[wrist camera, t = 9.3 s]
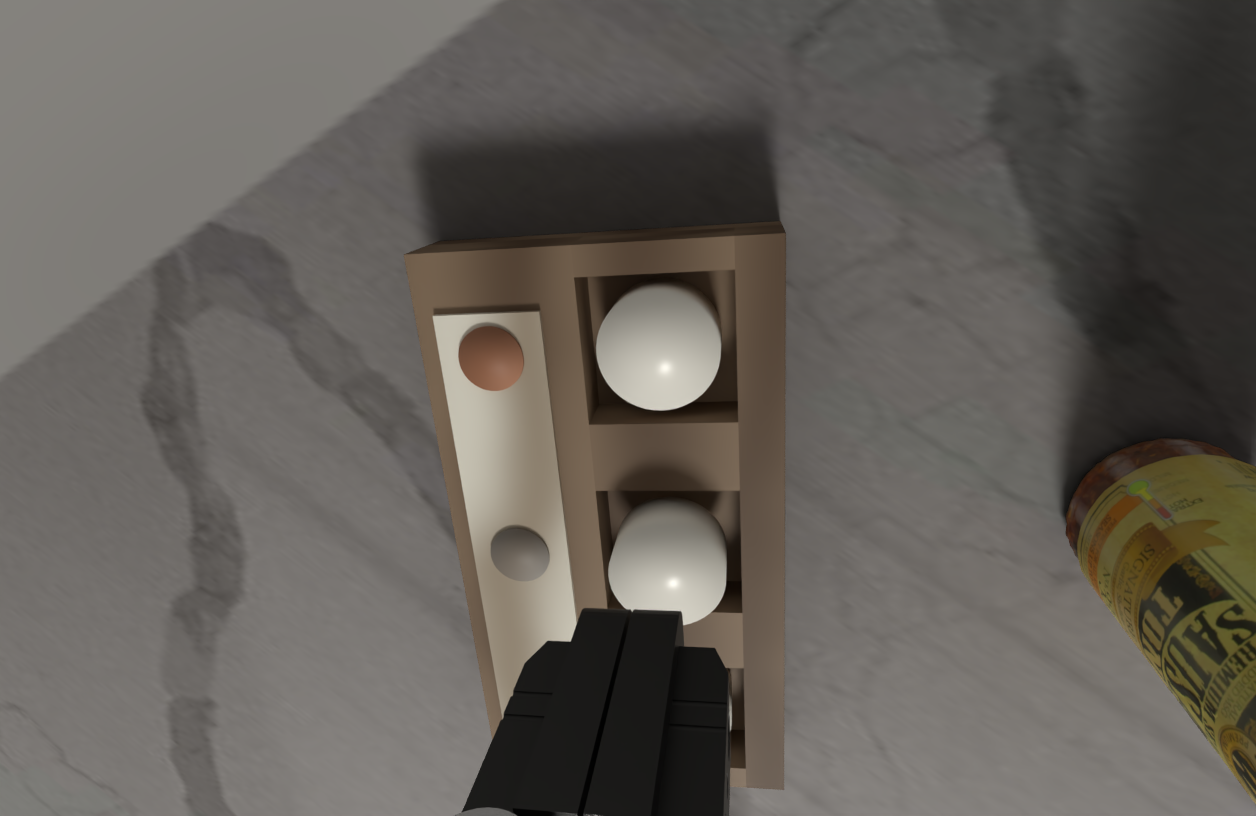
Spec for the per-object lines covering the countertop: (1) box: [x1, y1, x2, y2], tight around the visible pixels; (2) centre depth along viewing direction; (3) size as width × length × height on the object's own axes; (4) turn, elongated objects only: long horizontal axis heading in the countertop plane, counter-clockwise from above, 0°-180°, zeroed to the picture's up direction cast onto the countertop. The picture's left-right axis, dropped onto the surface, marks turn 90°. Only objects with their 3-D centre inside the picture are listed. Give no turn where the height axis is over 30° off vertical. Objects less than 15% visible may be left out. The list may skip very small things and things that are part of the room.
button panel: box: [404, 221, 786, 790], centre depth 27 cm, size 12×22×3 cm, turn 5°
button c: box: [596, 278, 722, 410], centre depth 24 cm, size 4×4×2 cm
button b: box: [608, 497, 727, 625], centre depth 25 cm, size 4×4×2 cm
